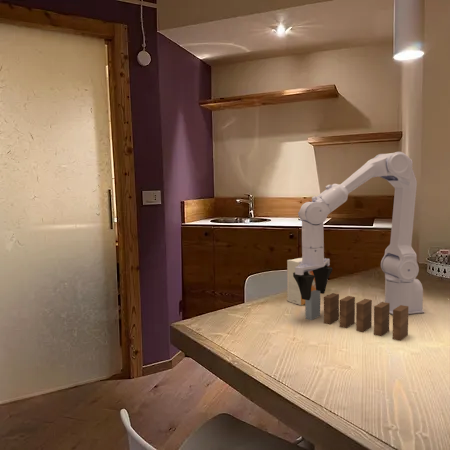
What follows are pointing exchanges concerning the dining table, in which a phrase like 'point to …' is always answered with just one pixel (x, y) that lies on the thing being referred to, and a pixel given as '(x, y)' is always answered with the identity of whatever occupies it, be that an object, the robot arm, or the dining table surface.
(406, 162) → the robot arm
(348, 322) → the domino
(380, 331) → the domino
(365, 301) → the domino
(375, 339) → the dining table surface
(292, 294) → the small box
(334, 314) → the domino
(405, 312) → the domino
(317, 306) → the gray rectangular block
